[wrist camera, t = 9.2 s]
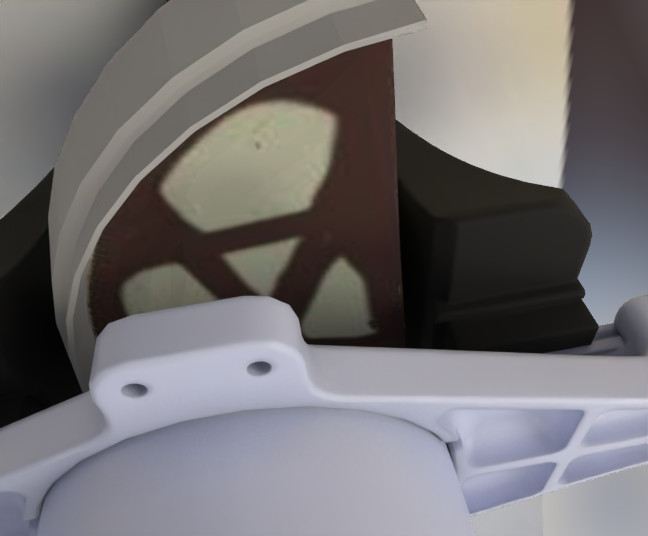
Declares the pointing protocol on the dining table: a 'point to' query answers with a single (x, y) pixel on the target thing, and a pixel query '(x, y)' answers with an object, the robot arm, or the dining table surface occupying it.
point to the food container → (237, 171)
